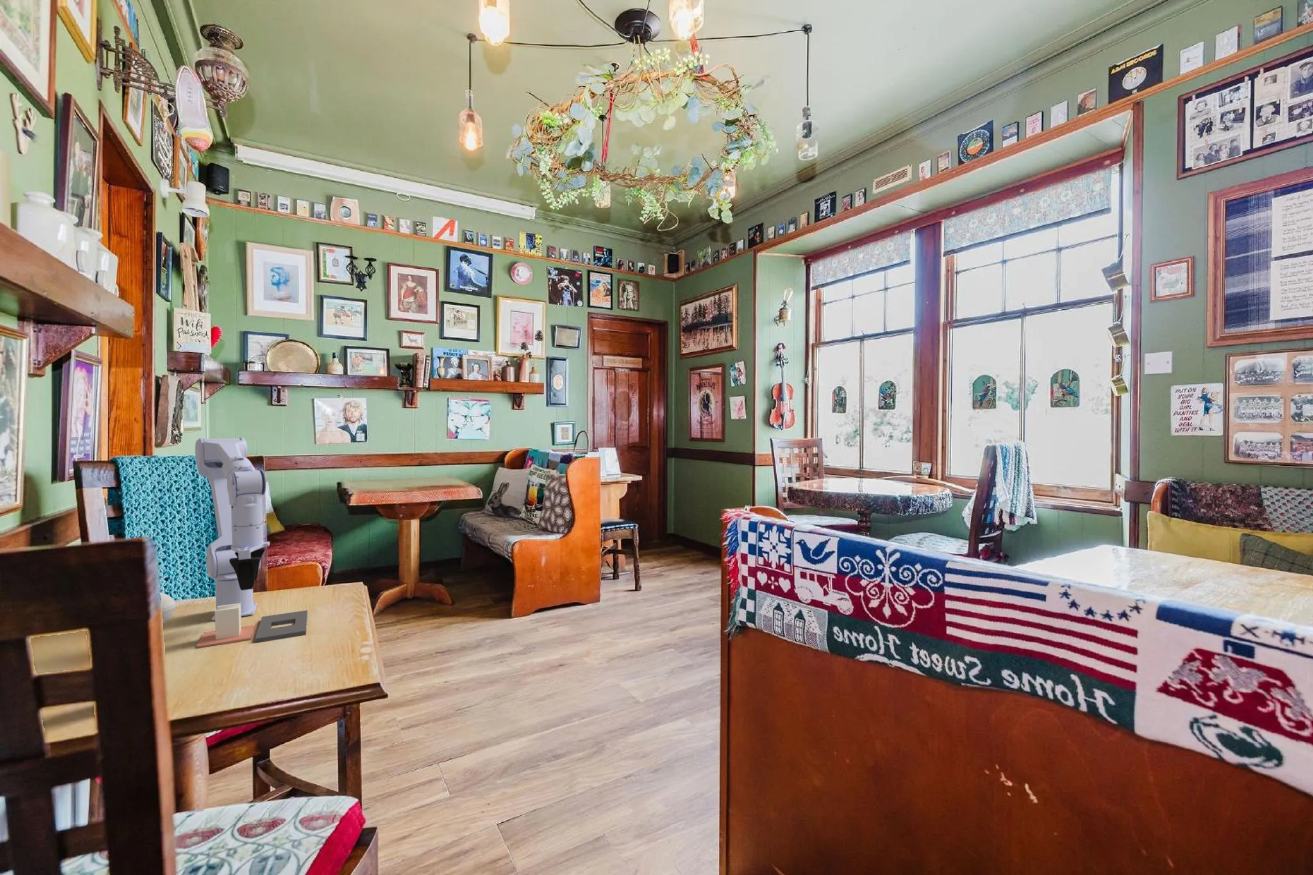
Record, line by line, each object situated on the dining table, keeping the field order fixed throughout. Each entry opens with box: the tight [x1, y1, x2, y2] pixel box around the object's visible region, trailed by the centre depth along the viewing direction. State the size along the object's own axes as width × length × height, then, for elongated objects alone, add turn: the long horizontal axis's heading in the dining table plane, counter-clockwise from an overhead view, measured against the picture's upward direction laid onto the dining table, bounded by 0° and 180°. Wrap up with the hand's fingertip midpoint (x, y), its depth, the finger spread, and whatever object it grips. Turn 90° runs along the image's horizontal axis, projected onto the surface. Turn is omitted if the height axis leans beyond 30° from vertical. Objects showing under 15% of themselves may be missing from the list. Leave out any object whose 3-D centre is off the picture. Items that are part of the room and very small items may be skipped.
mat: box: [195, 624, 256, 649], centre depth 122 cm, size 9×9×1 cm
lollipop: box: [159, 592, 177, 624], centre depth 103 cm, size 6×6×15 cm
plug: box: [214, 603, 242, 640], centre depth 122 cm, size 4×4×6 cm
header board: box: [254, 609, 308, 643], centre depth 128 cm, size 16×9×1 cm, turn 30°
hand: (248, 585), depth 128 cm, fingers open, 7 cm apart
